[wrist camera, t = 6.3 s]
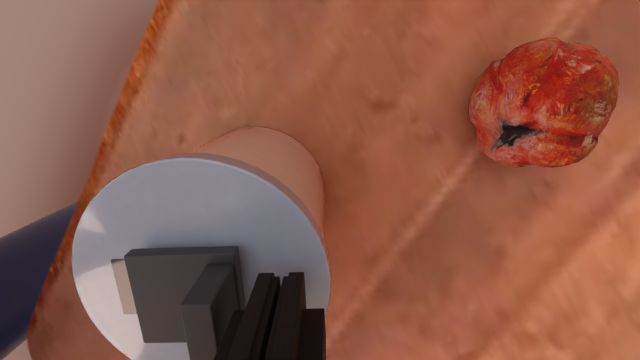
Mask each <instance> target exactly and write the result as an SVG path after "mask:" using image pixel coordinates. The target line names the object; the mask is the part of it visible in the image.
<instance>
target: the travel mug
mask: <svg viewBox="0 0 640 360" xmlns="http://www.w3.org/2000/svg"><path fill="white" fill-rule="evenodd" d="M323 219H324V182H323V178H322V174H321V172H320V169H319V167H318V165H317V163H316V161H315V159H314V158H313V157H312V155H311V154H310V153H309V151H308V150H307V149H306V148H305V147H304V146H303V145H302V144H300V143H299V142H298V141H297V140H295V139H294V138H292V137H290V136H289V135H287V134H284V133H282V132H280V131H277V130H274V129H270V128H264V127H246V128H241V129H236V130H233V131H231V132H228V133H226V134H224V135H222V136H220V137H218V138H216V139H214V140H212V141H210V142H208V143H206V144H204V145H202V146H200V147H198V148H196V149H194V150H192V151H190V152H188V153H183V154H173V155H169V156H165V157H160V158H156V159H154V160H151V161H149V162H146V163H144V164H141V165H139V166H137V167H134V168H132V169H130V170H128V171H126V172H124V173H123V174H121V175H119V176H118V177H116V178H114V179H113V180H112V181H111V182H109V183H108V184H107V185H106V186H104V187H103V188H102V189H101V190H100V191H99V192H98V193H97V194H96V196H95V197H94V198H93V199H92V200H91V202H90V203H89V205H88V206H87V208H86V209H85V211H84V212H83V214H82V216H81V219H80V221H79V223H78V226H77V228H76V232H75V236H74V240H73V247H72V271H73V277H74V281H75V286H76V289H77V292H78V295H79V297H80V300H81V302H82V304H83V306H84V308H85V310H86V312H87V314H88V316H89V317H90V319H91V320H92V322H93V323H94V325H95V326H96V327H97V329H98V330H99V331H100V332H101V333H102V334H103V336H104V337H105V338H106V339H107V340H108V341H109V342H110V343H111V344H112V345H113V346H115V347H116V348H117V349H118V350H119V351H120V352H122V353H123V354H124V355H126V356H127V357H128V358H130V359H131V360H190V358H189V353H188V347H187V343H144V341H143V337H142V332H141V328H140V324H139V320H138V315H137V311H136V307H135V303H134V298H133V294H132V290H131V286H130V281H129V277H128V273H127V269H126V264H125V260H124V255H125V254H127V253H128V252H129V251H130V250H131V249H143V248H181V247H219V246H238V248H239V256H240V264H241V272H242V280H243V288H244V296H245V304H246V306H247V303H248V300H249V298H250V295H251V292H252V290H253V287H254V284H255V281H256V279H257V276H258V274H259V273H274V274H275V276H279V277H280V284H282V280H283V277H284V276H288V275H289V272H304V276H305V292H306V309H313V308H324V310H325V315H326V312H327V309H328V304H329V299H330V286H331V269H330V260H329V254H328V250H327V246H326V242H325V239H324V237H323Z"/></svg>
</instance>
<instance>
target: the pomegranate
mask: <svg viewBox="0 0 640 360" xmlns="http://www.w3.org/2000/svg"><path fill="white" fill-rule="evenodd" d="M618 86H619V78H618V72H617V70H616V68H615V67H614V65H613V64H612V63H611V62H610V60H609V59H608V58H607V57H606V56H604V55H603V54H601V53H599V51H598V50H597V49H596V48H595V47H593V46H591V45H582V44H578V43H577V44H575V43H574V44H571V43H565V42H562V41H561V40H560V39H558V38H545V39H540V40H538V41H534V42H528V43H526V44H523V45H520V46H519V47H517V48H515V49H514V50H512V51H511V52H510V53H508V55H507V56H506V57H505V58H504V59H501V60H498V61H494V62H492V63H491V65H490V66H489V67H488V68H487V69H486V70H485V72H484V73H483V74H482V75H481V77H480V78H479V80H478V81H477V83H476V85H475V88H474V90H473V92H472V95H471V98H470V100H469V112H468V113H469V117H470V120H471V122H472V123H473V124H474V125H475V127H476V132H477V143H478V146H479V147H480V149H481V151H483V152H484V153H485V154H486V155H487V156H489V157H490V158H491V159H493V160H495V161H497V162H500V163H503V164H506V165H510V166H514V167H522V166H526V165H536V166H540V167H550V168H553V167H561V166H565V165H569V164H572V163H576V162H579V161H580V160H582V159H583V158H585V157H586V156H588V155H589V153H590V152H591V151H592V150H593V149H594V148H595V147H596V145H597V143H598V136H599V135H600V133H601V132H602V131H603V129H604V128H605V126H606V125H607V123H608V121H609V119H610V116H611V114H612V112H613V110H614V108H615V107H616V102H617V95H618Z"/></svg>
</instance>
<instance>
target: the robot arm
mask: <svg viewBox="0 0 640 360" xmlns="http://www.w3.org/2000/svg"><path fill="white" fill-rule="evenodd" d="M214 360H326V332H325V310H324V308H313V309H306V292H305V276H304V272H289V275H288V276H284V277H283V280H282V284H280V277H279V276H275V274H274V273H259V274H258V276H257V279H256V281H255V284H254V287H253V290H252V292H251V295H250V298H249V300H248V303H247V306H246V309H245V310H235V311H234V312H233V314H232V316H231V319H230V321H229V324H228V326H227V328H226V331H225V333H224V336H223V338H222V341H221V343H220V345H219V348H218V350H217V353H216V355H215V357H214Z"/></svg>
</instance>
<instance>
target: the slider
mask: <svg viewBox="0 0 640 360" xmlns="http://www.w3.org/2000/svg"><path fill="white" fill-rule="evenodd" d="M124 260H125V264H126V269H127V273H128V277H129V281H130V286H131V290H132V294H133V298H134V303H135V307H136V311H137V315H138V320H139V324H140V328H141V332H142V337H143V341H144V343H187V347H188V353H189V358H190V360H214V357H215V355H216V353H217V350H218V348H219V345H220V343H221V341H222V338H223V336H224V333H225V331H226V328H227V326H228V324H229V321H230V319H231V316H232V314H233V312H234V311H235V310H245V309H246V304H245V296H244V288H243V280H242V272H241V264H240V256H239V248H238V246H219V247H181V248H143V249H131V250H130V251H129V252H128V253H127V254H125V255H124Z"/></svg>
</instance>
